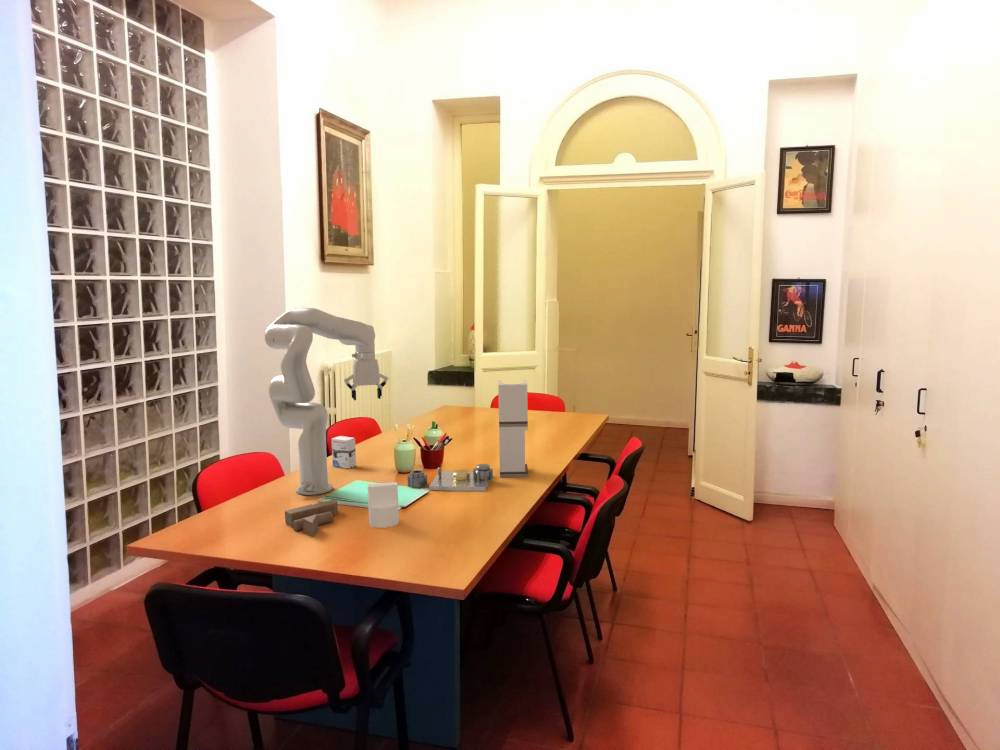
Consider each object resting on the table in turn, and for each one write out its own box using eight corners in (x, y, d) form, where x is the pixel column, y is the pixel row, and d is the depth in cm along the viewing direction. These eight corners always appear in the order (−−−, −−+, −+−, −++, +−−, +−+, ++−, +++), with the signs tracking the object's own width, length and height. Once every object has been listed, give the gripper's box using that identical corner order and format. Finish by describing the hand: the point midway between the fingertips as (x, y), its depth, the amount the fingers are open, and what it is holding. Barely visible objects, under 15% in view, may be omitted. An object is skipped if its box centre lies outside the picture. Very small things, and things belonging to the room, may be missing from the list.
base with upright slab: (370, 529, 207) (368, 490, 205) (367, 519, 216) (366, 482, 214) (400, 525, 209) (399, 487, 208) (397, 516, 218) (395, 479, 216)
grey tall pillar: (528, 476, 260) (527, 384, 256) (499, 477, 260) (498, 384, 256) (526, 468, 272) (525, 380, 267) (499, 469, 272) (498, 380, 267)
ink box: (332, 466, 280) (330, 438, 278) (340, 463, 284) (339, 435, 283) (348, 469, 276) (347, 440, 274) (356, 466, 280) (355, 437, 279)
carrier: (489, 491, 243) (489, 473, 242) (429, 490, 245) (428, 472, 244) (495, 475, 263) (495, 458, 262) (439, 474, 265) (439, 458, 264)
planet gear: (424, 488, 248) (424, 474, 247) (405, 487, 249) (405, 474, 248) (428, 482, 255) (428, 469, 254) (410, 482, 255) (409, 469, 255)
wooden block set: (281, 507, 212) (333, 495, 224) (282, 525, 212) (334, 512, 225) (308, 520, 199) (362, 506, 212) (309, 539, 200) (363, 524, 212)
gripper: (344, 358, 269) (346, 402, 271) (388, 356, 275) (390, 399, 277) (341, 356, 276) (343, 399, 278) (385, 354, 282) (386, 396, 284)
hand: (366, 399), depth 277 cm, fingers open, 9 cm apart
